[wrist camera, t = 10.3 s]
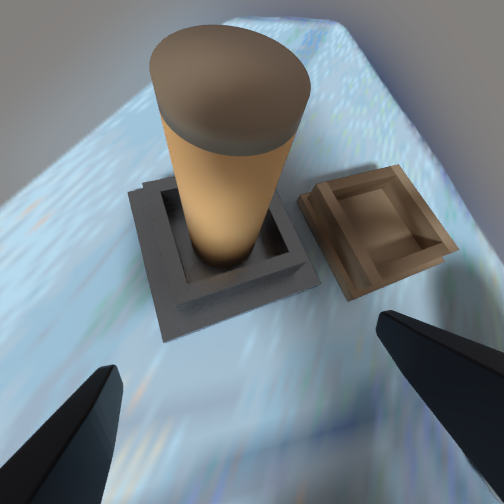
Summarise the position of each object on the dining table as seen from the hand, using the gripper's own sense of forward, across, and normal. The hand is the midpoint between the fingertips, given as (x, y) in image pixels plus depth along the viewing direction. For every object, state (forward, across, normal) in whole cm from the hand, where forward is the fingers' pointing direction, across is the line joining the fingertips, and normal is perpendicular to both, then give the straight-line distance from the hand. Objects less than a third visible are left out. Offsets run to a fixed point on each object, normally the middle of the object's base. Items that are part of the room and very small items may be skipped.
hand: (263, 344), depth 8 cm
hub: (+12, 0, +1) cm, 12 cm away
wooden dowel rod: (+12, 0, 0) cm, 12 cm away
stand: (+12, -13, +1) cm, 18 cm away
